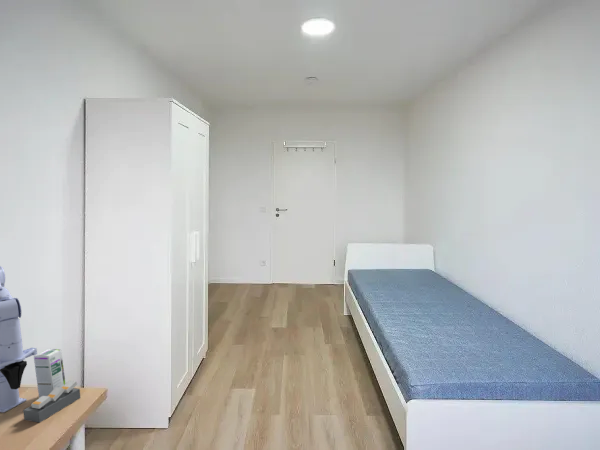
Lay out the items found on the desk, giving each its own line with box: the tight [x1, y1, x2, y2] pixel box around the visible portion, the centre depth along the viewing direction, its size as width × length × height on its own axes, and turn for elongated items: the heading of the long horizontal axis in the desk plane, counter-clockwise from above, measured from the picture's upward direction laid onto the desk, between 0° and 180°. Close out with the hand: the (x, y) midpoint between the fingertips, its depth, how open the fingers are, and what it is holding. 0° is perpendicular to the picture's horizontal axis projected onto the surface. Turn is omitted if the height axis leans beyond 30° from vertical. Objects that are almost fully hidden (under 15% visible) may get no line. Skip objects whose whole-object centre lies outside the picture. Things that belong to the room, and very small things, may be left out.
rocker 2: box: [48, 387, 64, 401], centre depth 136 cm, size 3×4×1 cm
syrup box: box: [33, 348, 66, 399], centre depth 146 cm, size 6×6×14 cm
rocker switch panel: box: [22, 387, 81, 423], centre depth 137 cm, size 6×15×4 cm, turn 161°
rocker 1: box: [30, 396, 51, 409], centre depth 132 cm, size 3×4×1 cm
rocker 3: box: [61, 380, 78, 393], centre depth 141 cm, size 3×4×1 cm
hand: (15, 388), depth 129 cm, fingers closed
